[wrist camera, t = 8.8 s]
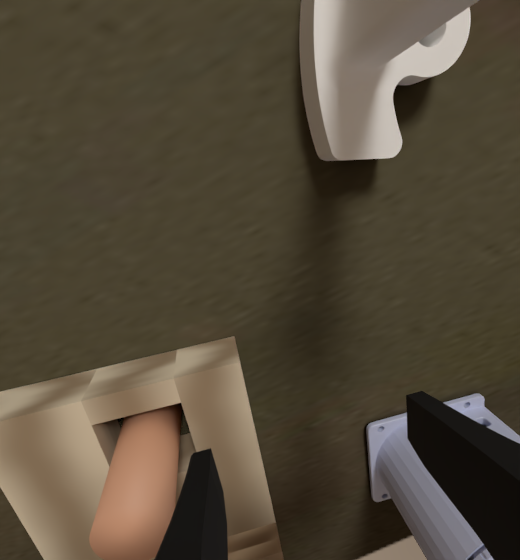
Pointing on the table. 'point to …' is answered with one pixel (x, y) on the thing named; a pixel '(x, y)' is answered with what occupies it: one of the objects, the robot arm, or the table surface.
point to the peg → (139, 487)
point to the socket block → (103, 438)
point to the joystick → (371, 66)
